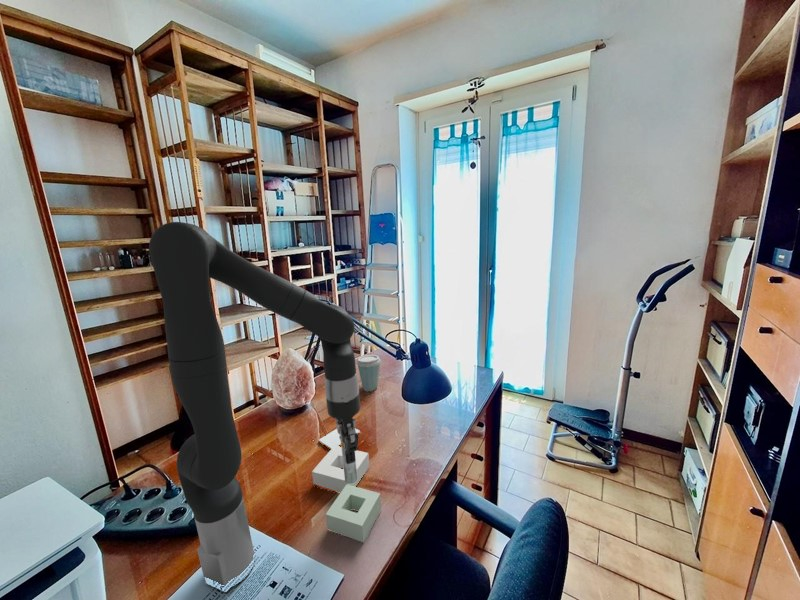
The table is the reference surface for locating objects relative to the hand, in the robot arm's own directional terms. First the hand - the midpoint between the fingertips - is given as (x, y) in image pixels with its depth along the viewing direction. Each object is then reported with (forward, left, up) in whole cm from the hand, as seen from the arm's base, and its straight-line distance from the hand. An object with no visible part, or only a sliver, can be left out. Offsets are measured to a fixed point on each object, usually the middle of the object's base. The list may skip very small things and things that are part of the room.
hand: (348, 457), depth 81 cm
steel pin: (0, 0, -6) cm, 6 cm away
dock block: (+12, +11, -19) cm, 25 cm away
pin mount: (0, 0, -19) cm, 19 cm away
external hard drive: (+28, +22, -19) cm, 40 cm away
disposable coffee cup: (+63, +27, -19) cm, 71 cm away
